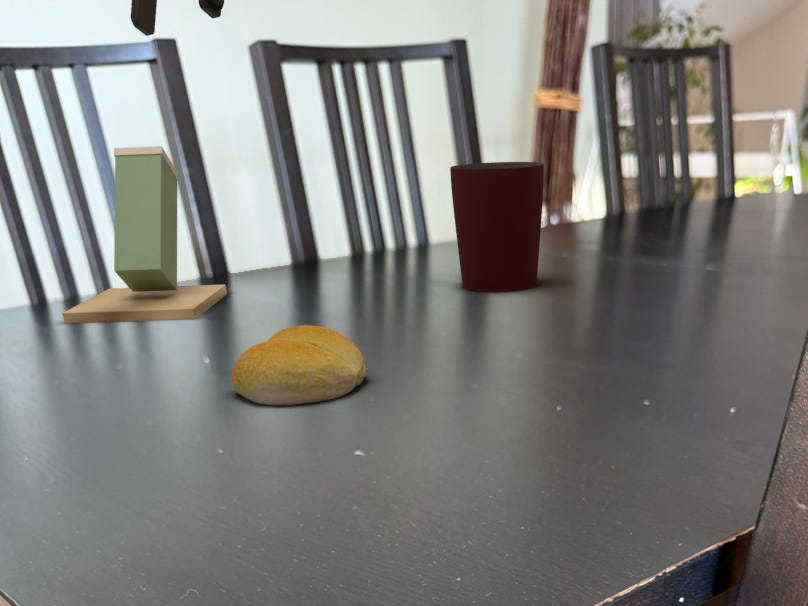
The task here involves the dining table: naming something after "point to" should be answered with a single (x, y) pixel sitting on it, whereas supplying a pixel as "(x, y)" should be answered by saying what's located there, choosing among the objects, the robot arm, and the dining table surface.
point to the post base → (146, 305)
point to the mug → (498, 224)
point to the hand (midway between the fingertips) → (175, 22)
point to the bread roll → (299, 367)
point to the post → (145, 219)
